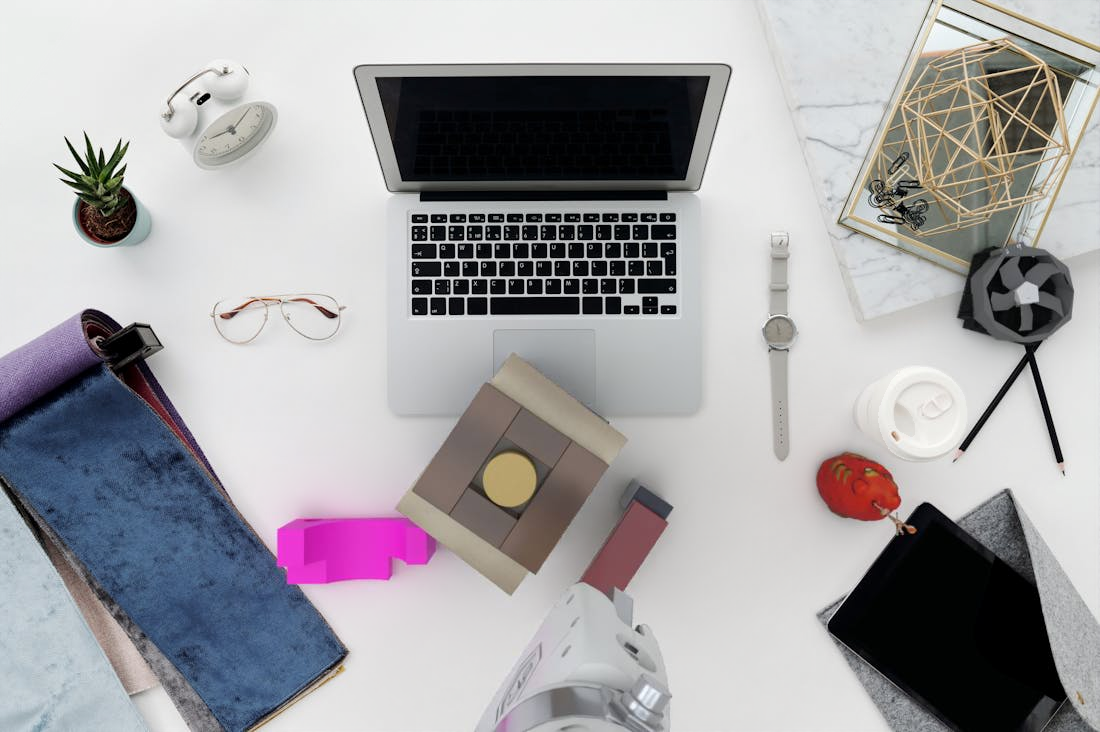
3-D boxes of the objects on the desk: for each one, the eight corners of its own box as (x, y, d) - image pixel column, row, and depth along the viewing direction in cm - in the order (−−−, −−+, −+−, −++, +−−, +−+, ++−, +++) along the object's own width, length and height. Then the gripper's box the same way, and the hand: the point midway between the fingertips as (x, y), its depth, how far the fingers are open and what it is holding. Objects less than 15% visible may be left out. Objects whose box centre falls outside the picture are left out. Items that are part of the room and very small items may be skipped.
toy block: (300, 573, 85) (277, 591, 77) (300, 516, 85) (277, 529, 77) (436, 572, 85) (426, 589, 77) (436, 515, 85) (426, 527, 78)
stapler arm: (595, 630, 77) (597, 638, 74) (559, 605, 77) (560, 612, 74) (668, 521, 77) (672, 526, 75) (631, 497, 77) (635, 500, 75)
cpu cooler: (1064, 353, 81) (971, 326, 81) (1029, 355, 86) (942, 330, 86) (1088, 258, 81) (996, 232, 81) (1052, 267, 87) (965, 242, 87)
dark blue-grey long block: (599, 607, 85) (604, 628, 77) (554, 576, 85) (555, 595, 77) (674, 494, 85) (687, 504, 78) (629, 464, 85) (638, 471, 78)
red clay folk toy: (885, 464, 86) (958, 480, 71) (866, 524, 86) (936, 553, 71) (820, 443, 86) (879, 455, 71) (801, 503, 86) (857, 528, 71)
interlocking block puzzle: (525, 541, 85) (518, 613, 58) (432, 478, 85) (382, 521, 58) (607, 420, 86) (637, 435, 59) (514, 358, 86) (502, 344, 59)
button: (518, 511, 60) (516, 517, 57) (475, 482, 60) (472, 487, 57) (546, 468, 60) (547, 472, 57) (504, 440, 60) (502, 442, 57)
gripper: (605, 569, 28) (580, 500, 47) (376, 915, 28) (442, 708, 46) (774, 684, 28) (683, 570, 47) (547, 1033, 28) (545, 779, 46)
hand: (563, 639), depth 46 cm, fingers closed
